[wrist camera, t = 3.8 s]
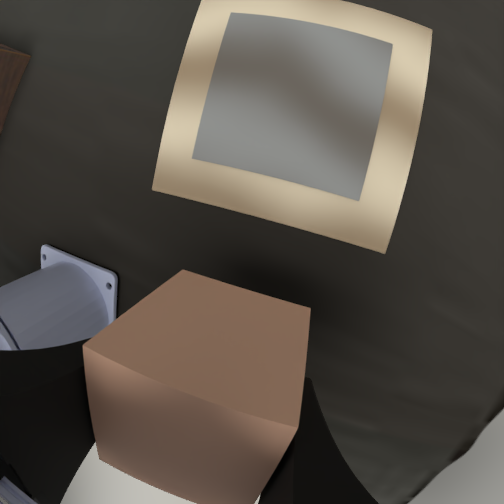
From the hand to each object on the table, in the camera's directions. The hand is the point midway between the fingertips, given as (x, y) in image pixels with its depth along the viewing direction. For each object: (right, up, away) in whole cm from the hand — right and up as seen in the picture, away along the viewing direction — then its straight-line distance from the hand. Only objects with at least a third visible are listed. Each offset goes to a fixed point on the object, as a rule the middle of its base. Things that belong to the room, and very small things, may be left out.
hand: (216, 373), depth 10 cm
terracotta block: (0, +1, +2) cm, 2 cm away
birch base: (+4, +12, +5) cm, 13 cm away
